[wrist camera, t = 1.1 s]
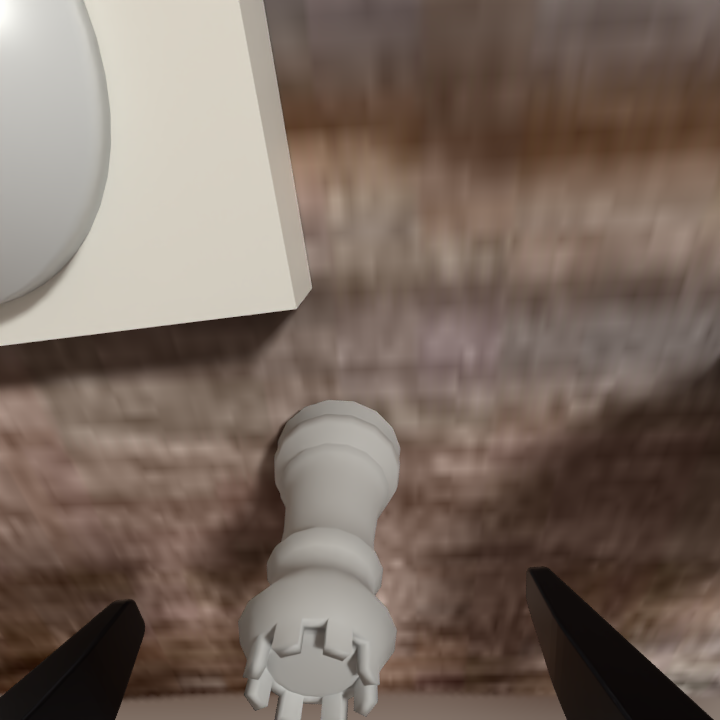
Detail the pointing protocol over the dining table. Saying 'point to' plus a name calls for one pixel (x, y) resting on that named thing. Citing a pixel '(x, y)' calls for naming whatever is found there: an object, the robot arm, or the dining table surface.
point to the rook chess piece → (324, 567)
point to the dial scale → (142, 168)
